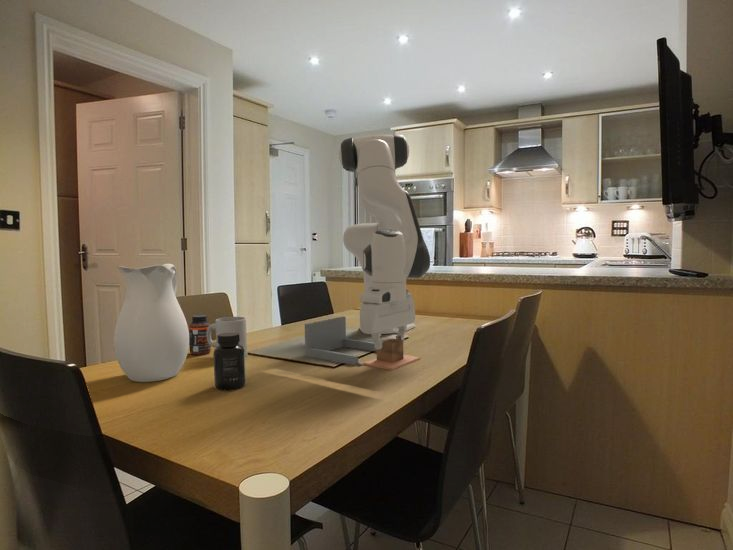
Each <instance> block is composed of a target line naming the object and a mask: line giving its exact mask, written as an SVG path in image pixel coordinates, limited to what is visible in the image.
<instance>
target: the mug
mask: <svg viewBox="0 0 733 550" xmlns="http://www.w3.org/2000/svg"><path fill="white" fill-rule="evenodd" d="M214 322H215V323H211V324H210V325H209V326H208V329H207V341H208V344H209V345H210V346H211V347H212V348H216V347H217V346H219V344H218V343H217V341H218V337H217V336H218V335H219V334H222V333H239V335H240V342H239V344H240V345H242V346H243V347H244V349H245V358H247V356H248V344H247V343H248V342H247V341H248V340H247V318H246V317H243V316H228V317H227V316H225V317H218V318H216V319H215V321H214ZM212 330H215V341H213V339H212Z"/></svg>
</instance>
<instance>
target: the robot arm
mask: <svg viewBox="0 0 733 550" xmlns="http://www.w3.org/2000/svg"><path fill="white" fill-rule="evenodd" d="M408 143H409V142H408V140H407V139H406V137H405V136H404V135H403V134H399V133H392V134H379V133H378V134H376V133H375V134H372V135H364V136H358V137H349V138H345V139H344V140H342V142H341V143H340V146H339V150H338V158H339V162H340V164H341V165H342V169H344V170H345V172H346V171H347V172H351V173H356V172H357V184H358V191H359V199H360V200H359V201H360V207H361V208H362V210H363V211H364V212H365V213H366V214H368V215H370V216H373V218H375V219H376V220H377V221H378V222H369V223H368V222H367V223H362V222H361V223H357V224H352V225H349V226H347V227H346V229H345V231H344V233H343V236H342V240H343V241H342V242H343V244H344V247H345V249H346V250H347V251H348V252H349V253H350V254H352V255H353V256H354V257H355V258H356V260H357V261H358V262H359V264H360V267H361V269H362V273H363V274H362V275H363V286H364V289H363V292H361V293H360V294H359V302H360V303H362V304H360V308H359V326H358V328H359V329H360V332H362V333H363V334H367V335H371V339H372V341H373V343H375V349H377V350H380V349H383V348H384V346H383V345H384V342H381V340H382V339H381V337H382V334H383V335H386V334H387V335H388V334H396V335H395V339H400V340H403V343H404V342H405V335H406V332H407V331H409V330H411V329H413V328H415V327H416V323H415V321H416V307H415V300H414V298H413V297H412V296H413V295H412V293H411V291H410V290H409V289H407V279H408V278H410V279H421V278H422V277H423V276H424V275H425V274H426V273H427V272H428V271H429V270H430V268H431V256H430V252H429V249H428V246H427V244H426V241H425V239H424V236H423V233H422V230H421V226H420V224H419V220H418V216H417V213H416V209H415V206H414V203H413V200H412V198H411V195H410V193H409V191H407V190H405V189H403V187H402V185H401V184H400V183H399V182H398V179H397V177H396V170H397V169H399V168H402V167H405V165H406V164H407V163H408V160H409V157H410V146H409V144H408Z"/></svg>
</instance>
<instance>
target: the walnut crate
mask: <svg viewBox="0 0 733 550" xmlns="http://www.w3.org/2000/svg"><path fill="white" fill-rule="evenodd" d="M381 342H384V345H383V346H384V348H383V349H380V350H377V352H376V358H377V360H380V361H385V362H391V363H393V362H396V361H399V360H402V359H404V356H403V355H404V342H403V340H400V339H396V338H394V337H386V338H382V339H381Z"/></svg>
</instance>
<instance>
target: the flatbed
mask: <svg viewBox="0 0 733 550" xmlns="http://www.w3.org/2000/svg"><path fill="white" fill-rule="evenodd" d="M346 320H347V319H346V316H343V315H342V316H338V317H333V318H328V319H324V320H323V319H322V320H319V321H313V322H309V323H304V349H305V351H304V352H305V353H304V355H305V357H310V358H316V359H320V360H326V361H331V362H337V363H342V364H347V365H350V366H358V367H362V366H364V365H363V362H359V355H354V354H350V353H349V354H348V353H343V352H338V351H333V350H336V349H340V348H342V347H345V348H350V349H351V348H352V349H358V350H363V351H371V352H376V353H377V349H375V343H374V341H373V342H371V341H365V340H360V339H358V340H357V339H353V338H352V339H351V338H347V332H346V331H347V327H346V325H347V323H346V322H347V321H346Z"/></svg>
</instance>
